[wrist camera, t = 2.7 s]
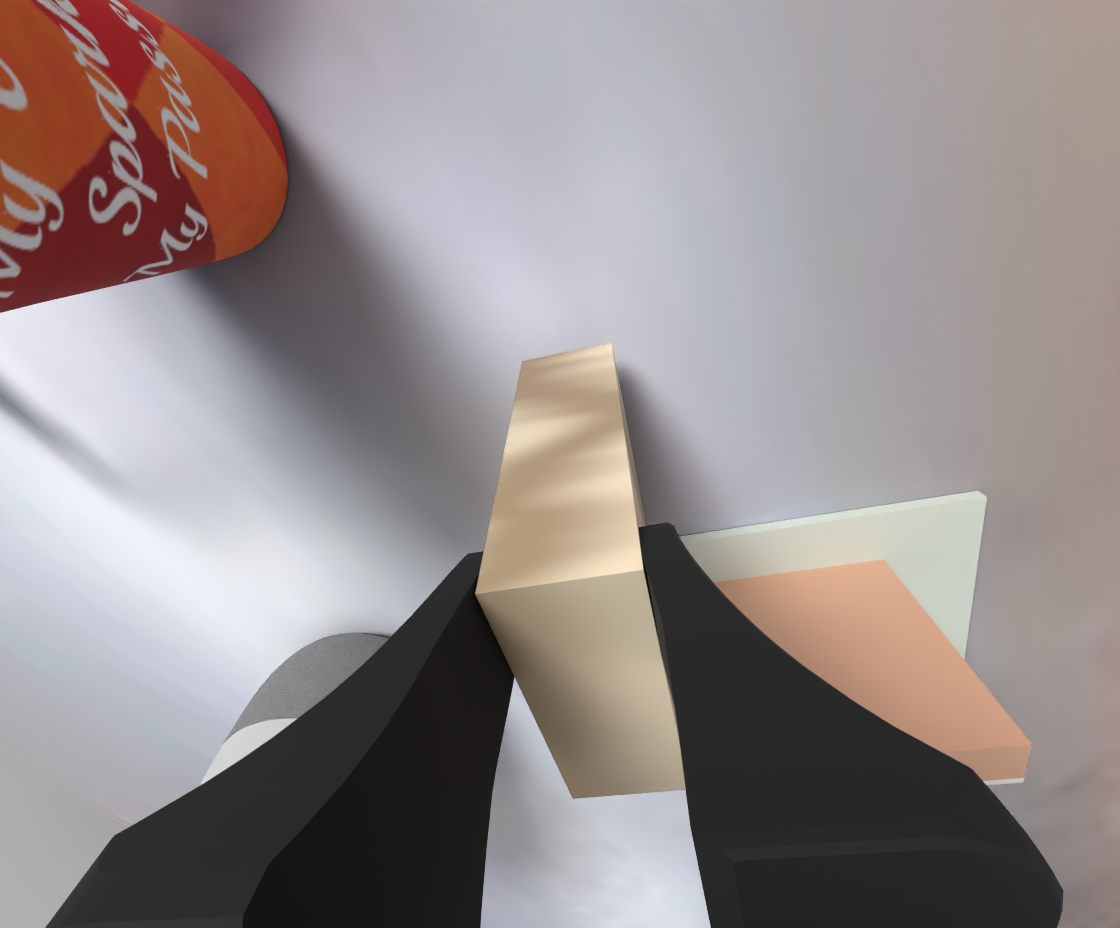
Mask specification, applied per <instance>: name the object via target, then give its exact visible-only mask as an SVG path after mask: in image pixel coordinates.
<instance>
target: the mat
mask: <svg viewBox="0 0 1120 928" xmlns="http://www.w3.org/2000/svg"><path fill="white" fill-rule="evenodd" d="M986 500H987V497H986V496H984V495H983V494H982V493H980V492H979V491H973V492H967V493H960V494H954V495H947V496H941V497H934V498H928V499H921V500H915V501H908V502H902V503H895V504H889V505H882V506H876V507H869V508H862V509H856V510H849V511H843V512H836V513H830V514H823V515H817V516H810V517H804V518H797V519H791V520H784V521H778V522H771V523H765V524H758V525H751V526H745V527H738V528H732V529H725V530H719V531H712V532H706V533H699V534H693V535H686V536H680V539H681V541H682V542H683V544H684V545H685V547H686V548H687V550H688V551H689V553H690V554H691V555H692V557H693V558H694V559H695V561H696V562H697V563H698V565H699V566H700V567H701V568H702V570H703V571H704V572H705V573H706V574H707V575H708V577H709V578H710V579H711V580H712V581H713V583H716V582H723V581H730V580H737V579H744V578H752V577H759V576H766V575H773V574H781V573H788V572H795V571H802V570H809V569H817V568H824V567H831V566H838V565H845V564H853V563H860V562H867V561H874V560H881V559H884V560H885V561H886V563H887V564H888V565H889V566H890V568H891V569H892V570H893V571H894V572H895V574H896V575H897V576H898V577H899V579H900V580H901V581H902V582H903V584H904V585H905V586H906V587H907V589H908V590H909V591H910V592H911V594H912V595H913V596H914V597H915V599H916V600H917V601H918V602H919V604H920V605H921V606H922V607H923V609H924V610H925V611H926V612H927V614H928V615H929V616H930V617H931V619H932V620H933V621H934V622H935V624H936V625H937V626H938V627H939V629H940V630H941V631H942V632H943V634H944V635H945V636H946V637H947V639H948V640H949V641H950V642H951V644H952V645H953V646H954V647H955V649H956V650H957V651H958V652H959V654H960V655H961V656H962V657H963V659H964V658H965V651H966V644H967V637H968V629H969V622H970V615H971V608H972V601H973V594H974V586H975V579H976V572H977V565H978V558H979V551H980V543H981V536H982V529H983V522H984V515H985V508H986Z"/></svg>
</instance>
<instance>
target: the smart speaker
mask: <svg viewBox="0 0 1120 928" xmlns="http://www.w3.org/2000/svg"><path fill="white" fill-rule="evenodd" d="M388 639H389V638H388V637H384V636H380V635H374V634H367V633H344V634H337V635H332V636H329V637H325V638H323V639H320V640H318V641H315V642H313V643H311V644H309V645H307V646H305V647H304V648H302V649H301V650H299V651H298V652H296V653H295V654H293V655H292V656H291V657H290V658H288V659H287V660H286V661H285V662H284V663H283V664H281V665H280V666H279V667H278V668H277V669H276V670H275V671H274V672H273V673H272V674H271V675H270V676H269V678H268V679H267V680H266V681H265V682H264V683H263V685H262V686H261V687H260V688H259V690H258V691H257V692H256V694H255V695H254V696H253V698H252V699H251V701H250V702H249V704H248V705H247V707H246V708H245V710H244V711H243V713H242V715H241V716H240V718H239V719H238V721H237V722H236V724H235V726H234V727H233V729H232V730H231V732H230V734H229V735H228V737H227V738H226V740H225V742H224V743H223V745H222V747H221V748H220V750H219V752H218V754H217V755H216V757H215V759H214V761H213V762H212V764H211V766H210V768H209V770H208V771H207V773H206V775H205V777H204V778H203V780H202V782H201V784H200V785H202V784H203V783H205V782H207V781H208V780H210V779H211V778H213V777H215V776H216V775H218V774H219V773H221V772H222V771H224V770H225V769H227V768H228V767H230V766H231V765H233V764H234V763H236V762H237V761H239V760H241V759H242V758H244V757H245V756H246V755H248V754H249V753H251V752H252V751H254V750H255V749H257V748H258V747H259V746H261V745H262V744H264V743H265V742H267V741H268V740H270V739H271V738H272V737H274V736H275V735H276V734H278V733H279V732H280V731H282V730H283V729H284V728H286V727H287V726H288V725H290V724H291V723H292V722H293V721H295V720H296V719H297V718H299V717H300V716H301V715H303V714H304V713H305V712H307V711H308V710H309V709H311V708H312V707H313V706H314V705H316V704H317V703H318V702H320V701H321V700H322V699H323V698H325V697H326V696H327V695H328V694H330V693H331V692H332V691H333V690H334V689H335V688H337V687H338V686H339V685H340V684H341V683H342V682H344V681H345V680H346V679H347V678H348V677H349V676H350V675H352V674H353V673H354V672H355V671H356V670H357V669H358V668H359V667H361V666H362V665H363V664H364V663H365V662H366V661H367V660H368V659H369V658H370V657H371V656H372V655H373V654H374V653H375V652H376V651H377V650H378V649H379V648H380V647H381V646H382V645H383V644H384V643H385V642H386V641H387V640H388Z"/></svg>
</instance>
